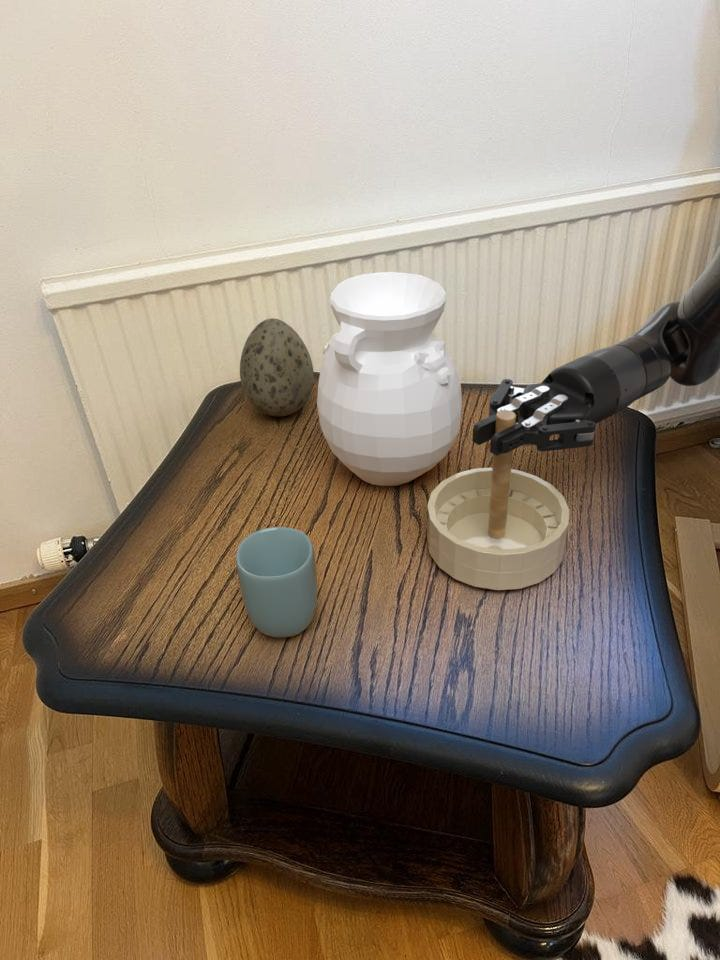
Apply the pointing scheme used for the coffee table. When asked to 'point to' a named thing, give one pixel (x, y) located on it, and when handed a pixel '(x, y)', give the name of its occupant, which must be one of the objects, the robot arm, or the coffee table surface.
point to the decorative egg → (276, 369)
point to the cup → (278, 580)
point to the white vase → (388, 379)
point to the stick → (500, 481)
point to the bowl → (528, 536)
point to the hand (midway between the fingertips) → (484, 441)
